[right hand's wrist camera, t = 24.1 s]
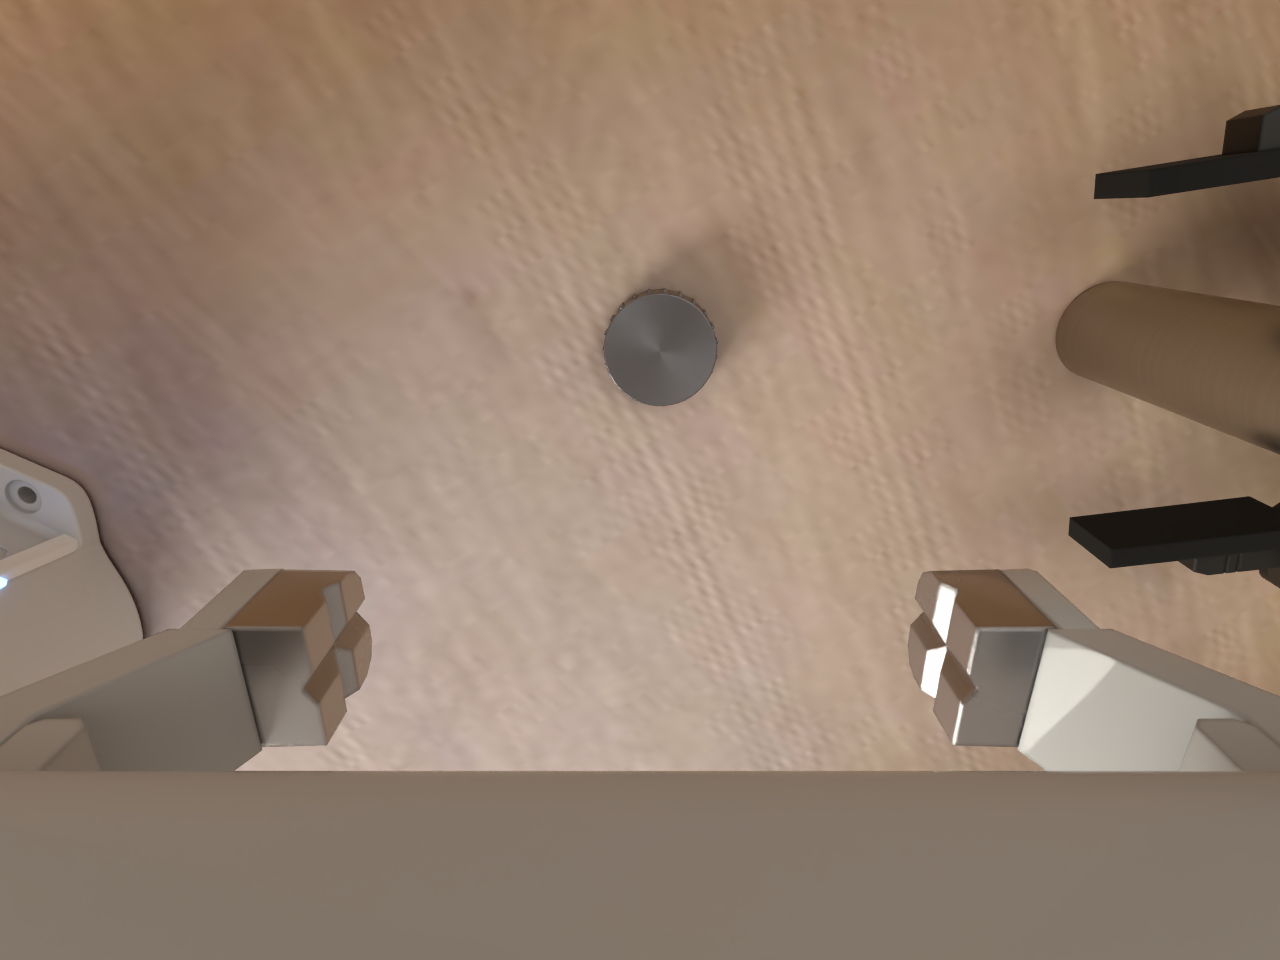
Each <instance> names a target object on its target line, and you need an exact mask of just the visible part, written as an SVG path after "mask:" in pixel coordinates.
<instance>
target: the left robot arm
mask: <svg viewBox="0 0 1280 960" xmlns="http://www.w3.org/2000/svg"><path fill="white" fill-rule="evenodd" d="M1277 177H1280V105H1277V106H1271V107H1265V108H1259V109H1254V110H1248V111H1244V112H1242V113H1240V114H1239V115H1237V116H1235V117H1233V118H1231V119H1229V120H1228V121H1227V122H1226V129H1225V137H1224V144H1223V152H1222V154H1221V155H1215V156H1208V157H1202V158H1196V159H1189V160H1183V161H1176V162H1170V163H1164V164H1157V165H1151V166H1145V167H1138V168H1132V169H1125V170H1119V171H1113V172H1106V173H1100V174H1096V179H1095V192H1094V199H1109V198H1143V197H1153V196H1160V195H1166V194H1173V193H1179V192H1186V191H1192V190H1199V189H1205V188H1212V187H1218V186H1225V185H1232V184H1238V183H1245V182H1251V181H1258V180H1264V179H1271V178H1277ZM1069 536H1070V537H1072V538H1073V539H1074V540H1075V541H1077V542H1078V543H1079V544H1080V545H1082V546H1083V547H1084V548H1085V549H1087V550H1088V551H1089V552H1090V553H1092V554H1093V555H1094V556H1095V557H1097V558H1098V559H1099V560H1100V561H1102V562H1103V563H1104V564H1105V565H1107V566H1108V567H1109V568H1117V567H1126V566H1135V565H1144V564H1153V563H1162V562H1171V561H1179V562H1180V563H1182V564H1183V565H1185V566H1186V567H1188V568H1189V569H1191V570H1192V571H1194V572H1197V573H1201V574H1205V575H1214V574H1223V573H1232V572H1236V571H1238V572H1241V571H1250V570H1259V573H1260V575H1261V576H1262V577H1263V578H1264V579H1266V580H1268V581H1269V582H1271V583H1272V584H1274V585H1275V586H1277V587H1279V588H1280V503H1278V504H1277V505H1275V506H1274V507H1270V506H1268V505H1266V504H1264V503H1262V502H1260V501H1258V500H1256V499H1254V498H1252V497H1250V496H1249V497H1240V498H1232V499H1223V500H1215V501H1206V502H1198V503H1189V504H1181V505H1172V506H1164V507H1155V508H1147V509H1138V510H1130V511H1121V512H1113V513H1104V514H1096V515H1087V516H1079V517H1070V522H1069Z"/></svg>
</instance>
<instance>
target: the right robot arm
mask: <svg viewBox="0 0 1280 960" xmlns="http://www.w3.org/2000/svg"><path fill="white" fill-rule="evenodd" d="M32 490H33V491H34V492H35V494H36V495H35V494H34V493H33V491H32ZM364 599H365V596H364V592H363V587H362V582H361V578H360V577H359V576H358V574H357V573H356V572H355V571H335V570H284V569H259V570H245V571H243V572H242V573H241V574H240V575H239V576H238V577H237V578H235V579H234V580H233V581H232V582H231V583H230V584H229V585H228V586H227V587H226V588H224V589H223V590H222V591H221V592H220V593H219V594H218V595H217V596H216V597H215V598H213V599H212V600H211V601H210V602H209V603H208V604H207V605H206V606H205V607H204V608H202V609H201V610H200V611H199V612H198V613H197V614H196V615H195V616H194V617H193V618H192V619H190V620H189V621H188V622H187V623H186V624H185V625H184V626H183V627H182V628H181V629H167V630H165V631H162V632H160V633H157V634H155V635H152V636H150V637H147V638H145V639H143V632H142V626H141V622H140V617H139V614H138V611H137V608H136V605H135V603H134V601H133V598H132V596H131V594H130V592H129V590H128V588H127V586H126V584H125V583H124V581H123V579H122V578H121V576H120V575H119V573H118V572H117V570H116V569H115V567H114V565H113V564H112V562H111V561H110V559H109V558H108V556H107V554H106V553H105V551H104V549H103V547H102V545H101V543H100V538H99V533H98V528H97V523H96V519H95V515H94V511H93V508H92V505H91V502H90V500H89V498H88V496H87V494H86V492H85V491H84V490H83V488H82V487H81V486H80V485H79V484H77V483H76V482H75V481H73V480H71V479H69V478H68V477H65V476H63V475H61V474H59V473H56V472H54V471H52V470H49V469H47V468H45V467H42V466H40V465H38V464H36V463H33V462H31V461H29V460H26V459H24V458H22V457H19V456H17V455H15V454H12V453H10V452H8V451H6V450H3V449H1V448H0V960H1280V697H1279V696H1277V695H1274V694H1272V693H1269V692H1267V691H1264V690H1262V689H1259V688H1257V687H1254V686H1252V685H1249V684H1247V683H1244V682H1242V681H1239V680H1237V679H1234V678H1232V677H1229V676H1227V675H1224V674H1222V673H1220V672H1217V671H1215V670H1212V669H1210V668H1207V667H1205V666H1202V665H1200V664H1197V663H1195V662H1192V661H1190V660H1187V659H1185V658H1182V657H1180V656H1177V655H1175V654H1172V653H1170V652H1167V651H1165V650H1162V649H1160V648H1157V647H1155V646H1153V645H1150V644H1148V643H1145V642H1143V641H1140V640H1138V639H1135V638H1133V637H1130V636H1128V635H1125V634H1123V633H1120V632H1118V631H1115V630H1113V629H1100V628H1098V627H1097V626H1096V625H1095V624H1094V623H1093V622H1092V621H1091V620H1090V619H1089V618H1087V617H1086V616H1085V615H1084V614H1083V613H1082V612H1081V611H1080V610H1079V609H1078V608H1077V607H1075V606H1074V605H1073V604H1072V603H1071V602H1070V601H1069V600H1068V599H1067V598H1066V597H1064V596H1063V595H1062V594H1061V593H1060V592H1059V591H1058V590H1057V589H1056V588H1055V587H1054V586H1052V585H1051V584H1050V583H1049V582H1048V581H1047V580H1046V579H1045V578H1044V577H1043V576H1041V575H1040V574H1039V573H1038V572H1037V571H1034V570H1030V569H1009V570H999V569H996V570H954V571H929V572H923V573H922V575H921V577H920V579H919V582H918V585H917V591H916V596H915V599H916V601H917V602H918V604H919V605H920V607H921V608H922V610H923V611H924V612H923V613H922V614H921V615H920V616H919V617H918V618H917V619H916V620H915V621H914V622H913V623H912V624H911V626H910V634H909V641H908V651H909V662H910V666H911V670H912V673H913V676H914V678H915V680H916V682H917V684H918V686H919V687H920V689H921V690H922V691H924V692H926V693H927V694H929V695H930V696H932V697H934V698H935V703H934V709H933V712H934V713H935V715H936V717H937V719H938V720H939V722H940V724H941V725H942V727H943V729H944V730H945V732H946V734H947V736H948V737H949V739H950V741H951V742H952V744H953V745H961V746H998V747H1018V750H1019V751H1020V752H1021V753H1023V754H1024V755H1025V756H1027V757H1028V758H1029V759H1031V760H1032V761H1033V762H1035V763H1036V764H1037V765H1039V766H1040V767H1042V768H1043V769H1044V770H1046V771H235V770H236V769H237V768H239V767H240V766H241V765H243V764H244V763H245V762H247V761H248V760H249V759H251V758H252V757H254V756H255V755H256V754H258V753H259V752H260V751H262V747H281V746H317V745H327V744H328V742H329V741H330V739H331V737H332V736H333V734H334V732H335V730H336V729H337V727H338V725H339V724H340V722H341V720H342V719H343V717H344V715H345V713H346V712H347V709H346V703H345V698H346V697H348V696H350V695H351V694H353V693H354V692H356V691H358V690H359V689H360V687H361V686H362V684H363V682H364V680H365V678H366V676H367V673H368V669H369V665H370V660H371V656H372V639H371V632H370V626H369V624H368V623H367V622H366V621H365V620H364V619H363V618H362V617H361V616H360V615H359V614H358V613H357V612H356V611H357V610H358V608H359V607H360V605H361V604H362V602H363V601H364Z"/></svg>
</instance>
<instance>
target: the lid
mask: <svg viewBox="0 0 1280 960" xmlns="http://www.w3.org/2000/svg"><path fill="white" fill-rule="evenodd" d="M706 315H707V313H706V310H705V309H703V310H702V309H701V307H700V306H699V305H698V304H697V303H696V301H695V299H694V298H693V299H690V298H688V297H687V296H685V295H683V294H682V292H681V291H679V293H678V292H674V291H670V290H666V288H664V290H652V291H651V289H648V291H647V292H644V293H641V294H639V295H636V294H634V296H633V298H631V299H630V300H628V301H627V302H626V303H625V304H624V303H622V304H621V306H620V309H619V310H618V312H617V313H616V314H615V315H614V314H613V316H612V317H611V319H610V320H611V321H612V322H611V324H610V326H609V328H608V329H606V332H605V335H606V338H605V344H604V347H603V350H604V357H605V365H606V366H607V369H608V372H609V374H610V376H611V378H612V379H613V381H614V383H615V384H616V385H617V386H618V388H619V389H620V390H622V391H623V392H624V393H625V394H626V395H628V396H629V397H630V398H632V399H634V400H636V401H638V402H641V403H644V404H648V405H653V406H667V405H673V404H676V403H680V402H682V401H684V400H686V399H688V398H690V397H691V396H693V395H694V394H695V393H697V392H698V391H699V390H700V389H701V388H702V387H703V386H704V384H705V383H706V382H707V380H708V378H709V377H710V375H711V374H712V370H713V368H714V364H715V361H716V359H717V355H716V352H717V346H716V344H718V341H717V339H716V337H715V334H714V331H713V329H714V326H713V323H712V322H711V323H710V321H709V319H708V317H707V316H706Z"/></svg>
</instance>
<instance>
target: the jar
mask: <svg viewBox="0 0 1280 960" xmlns="http://www.w3.org/2000/svg"><path fill="white" fill-rule="evenodd" d="M1056 348H1057V352H1058V355H1059V357H1060V359H1061V361H1062V362H1063V364H1064V365H1065V366H1066V367H1067V368H1068V369H1069V370H1070V371H1072V372H1074V373H1075V374H1077V375H1080V376H1082V377H1085V378H1087V379H1090V380H1093V381H1095V382H1098V383H1100V384H1103V385H1105V386H1108V387H1110V388H1113V389H1115V390H1118V391H1120V392H1123V393H1125V394H1128V395H1130V396H1133V397H1136V398H1138V399H1141V400H1143V401H1146V402H1148V403H1151V404H1153V405H1156V406H1158V407H1161V408H1163V409H1166V410H1168V411H1171V412H1174V413H1176V414H1179V415H1181V416H1184V417H1186V418H1189V419H1191V420H1194V421H1196V422H1199V423H1201V424H1204V425H1206V426H1209V427H1211V428H1214V429H1217V430H1219V431H1222V432H1224V433H1227V434H1229V435H1232V436H1234V437H1237V438H1239V439H1242V440H1244V441H1247V442H1249V443H1252V444H1255V445H1257V446H1260V447H1262V448H1265V449H1267V450H1270V451H1272V452H1275V453H1277V454H1280V306H1276V305H1270V304H1263V303H1257V302H1250V301H1244V300H1237V299H1231V298H1224V297H1218V296H1211V295H1205V294H1198V293H1192V292H1185V291H1179V290H1172V289H1166V288H1159V287H1153V286H1146V285H1140V284H1133V283H1127V282H1108V283H1103V284H1100V285H1097V286H1095V287H1092V288H1090V289H1089V290H1087V291H1085V292H1084V293H1082V294H1081V295H1080V296H1078V297H1077V298H1076V299H1075V300H1074V301H1073V302H1072V303H1071V304H1070V305H1069V306H1068V308H1067V309H1066V311H1065V312H1064V314H1063V316H1062V317H1061V320H1060V322H1059V325H1058V328H1057V333H1056Z"/></svg>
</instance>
